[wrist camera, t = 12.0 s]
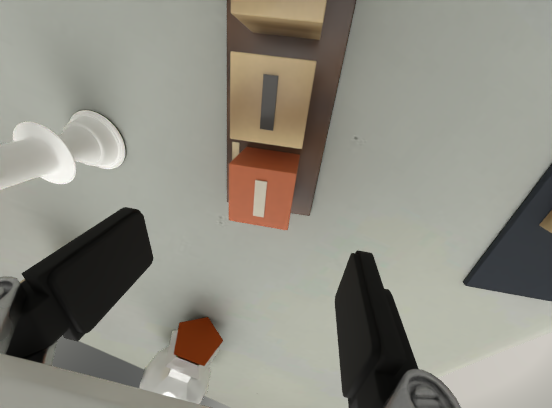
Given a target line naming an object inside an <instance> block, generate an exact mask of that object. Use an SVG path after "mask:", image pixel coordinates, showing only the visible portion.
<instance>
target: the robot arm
mask: <svg viewBox="0 0 552 408" xmlns="http://www.w3.org/2000/svg"><path fill="white" fill-rule="evenodd" d="M152 261H153V254H152V250H151V246H150V241H149V237H148V233H147V229H146V224H145V220H144V216H143V214H141V212H140V211H139V210H137V209H132V208H127V207H125V208H122V209H120V210H119V211H117V212H116V213H114V214H113V215H111V216H109V217H108V218H106V219H105V220H103V221H102V222H100V223H99V224H97V225H96V226H94V227H93V228H91V229H89V230H88V231H86V232H85V233H83V234H82V235H80V236H79V237H77V238H76V239H74V240H72V241H71V242H69V243H68V244H66V245H65V246H63V247H62V248H60V249H59V250H57V251H56V252H54V253H52V254H51V255H49V256H48V257H46V258H45V259H43V260H42V261H40V262H39V263H37V264H36V265H34V266H32V267H31V268H29V269H28V270H26V271H25V272H23V273H22V275H23V277H24V278H25V280H24V281H23V282H21V283H20V282H19V281H18V279H17V278H14V277H0V408H211V407H207V406H203V405H200V404H196V403H192V402H188V401H185V400H181V399H177V398H173V397H169V396H166V395H162V394H158V393H154V392H150V391H147V390H143V389H139V388H135V387H131V386H127V385H123V384H120V383H116V382H112V381H108V380H104V379H100V378H97V377H93V376H89V375H85V374H81V373H77V372H73V371H69V370H65V369H62V368H57V367H53V366H52V363H53V358H54V353H55V349H56V344H57V340H58V339H59V338H60V337H61V336H62V335H63V336H64V338H66V339H70V340H74V341H79V340H80V339H81V337H82V336H83V335H84V334H85V333H88V332H90V331H91V330H92V329H93V328H94V327H95V326H96V325H97V323H98V322H99V321H100V320H101V319H102V318H103V317H104V316H105V315H106V314H107V312H108V311H109V310H110V309H111V308H112V307H113V306H114V305H115V304H116V303H117V301H118V300H119V299H120V298H121V297H122V296H123V295H124V294H125V293H126V292H127V290H128V289H129V288H130V287H131V286H132V285H133V284H134V283H135V282H136V280H137V279H138V278H139V277H140V276H141V275H142V274H143V273H144V272H145V271H146V269H147V268H148V267H149V266H150V265H151V264H152ZM335 310H336V322H337V334H338V346H339V358H340V370H341V382H342V392H343V396H344V397H347V398H348V404H349V408H461V407H460V405H459V403H458V401H457V399H456V398H455V396H454V395H453V394H452V392H451V391H450V390H449V388H448V387H447V386H446V385H445V384H444V383H443V382H442V381H441V380H439V379H438V378H437V377H435V376H434V375H432V374H431V373H428V372H426V371H424V370H420V369H418V366H417V364H416V361H415V358H414V355H413V352H412V350H411V347H410V344H409V341H408V338H407V335H406V333H405V330H404V327H403V324H402V321H401V319H400V316H399V313H398V310H397V307H396V305H395V302H394V299H393V296H392V294H391V292H390V291H389V290H388V289H384V287H383V284H382V281H381V278H380V275H379V272H378V269H377V266H376V263H375V260H374V257H373V254H372V253H368V252H363V251H356V253H351V255H350V258H349V260H348V263H347V266H346V269H345V271H344V274H343V277H342V279H341V282H340V285H339V288H338V290H337V293H336V296H335Z"/></svg>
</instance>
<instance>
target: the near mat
mask: <svg viewBox="0 0 552 408" xmlns="http://www.w3.org/2000/svg"><path fill="white" fill-rule="evenodd" d="M551 210H552V165H551V166H550V167H549V169H548V170H547V171H546V173H545V174H544V175H543V177H542V178H541V179H540V181H539V182H538V183H537V185H536V186H535V187H534V189H533V190H532V191H531V193H530V194H529V195H528V197H527V198H526V199H525V201H524V202H523V203H522V205H521V206H520V207H519V208H518V210H517V211H516V212H515V214H514V215H513V216H512V218H511V219H510V220H509V222H508V223H507V224H506V226H505V227H504V228H503V230H502V231H501V232H500V234H499V235H498V236H497V238H496V239H495V240H494V242H493V243H492V244H491V246H490V247H489V248H488V250H487V251H486V252H485V253H484V255H483V256H482V257H481V259H480V260H479V261H478V263H477V264H476V265H475V267H474V268H473V269H472V271H471V272H470V273H469V275H468V276H467V277H466V279H465V280H464V281H463V283H464V284H465V286H470V287H475V288H481V289H486V290H492V291H497V292H503V293H508V294H514V295H519V296H525V297H530V298H536V299H541V300H547V301H552V233H551V232H549V231H548V230H546V229H544V228H543V227H541V226H539V224H540V223H541V222H542V221H543V220H544V218H545V217H546V216H547V215H548V214H549V212H550V211H551Z"/></svg>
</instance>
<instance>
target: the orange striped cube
mask: <svg viewBox="0 0 552 408" xmlns="http://www.w3.org/2000/svg"><path fill="white" fill-rule="evenodd" d="M299 158H300V155H299V154H293V153H286V152H279V151H272V150H265V149H259V148H252V147H246V148H245V149H244V150H243V151H242V152H241V153H240V154H238V155H237V156H236V157H235V158H234V159H233V160H232V161H231V162H230V163H229V220H231V221H236V222H242V223H248V224H254V225H260V226H265V227H271V228H277V229H283V230H288V225H289V219H290V213H291V207H292V201H293V195H294V188H295V182H296V176H297V170H298V164H299Z"/></svg>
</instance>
